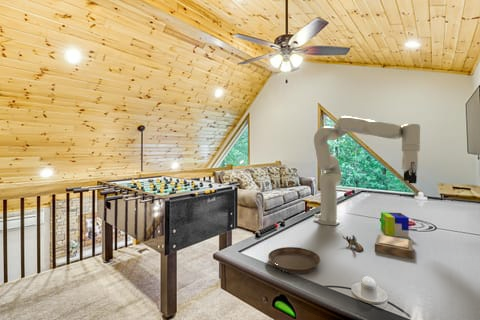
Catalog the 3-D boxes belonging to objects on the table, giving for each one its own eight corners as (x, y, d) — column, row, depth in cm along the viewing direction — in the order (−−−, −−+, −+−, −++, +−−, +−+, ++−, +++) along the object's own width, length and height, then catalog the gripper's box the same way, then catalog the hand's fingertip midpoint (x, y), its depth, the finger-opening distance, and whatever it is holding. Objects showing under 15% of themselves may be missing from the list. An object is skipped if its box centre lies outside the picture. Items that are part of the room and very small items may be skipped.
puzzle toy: (408, 236, 129) (408, 217, 129) (387, 235, 131) (387, 217, 131) (400, 230, 139) (400, 212, 138) (380, 229, 141) (381, 212, 140)
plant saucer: (257, 264, 101) (257, 256, 100) (287, 249, 115) (287, 242, 115) (302, 284, 86) (302, 274, 86) (329, 264, 100) (329, 256, 100)
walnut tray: (374, 251, 111) (374, 242, 111) (377, 241, 123) (378, 233, 123) (412, 259, 103) (412, 249, 103) (412, 247, 115) (412, 239, 115)
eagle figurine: (338, 243, 118) (350, 247, 109) (344, 230, 120) (356, 232, 111) (351, 251, 119) (364, 255, 110) (357, 237, 120) (370, 241, 112)
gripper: (398, 148, 134) (397, 179, 135) (406, 148, 118) (405, 184, 119) (414, 148, 132) (413, 180, 132) (425, 148, 116) (424, 184, 116)
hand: (409, 181), depth 126 cm, fingers open, 9 cm apart
